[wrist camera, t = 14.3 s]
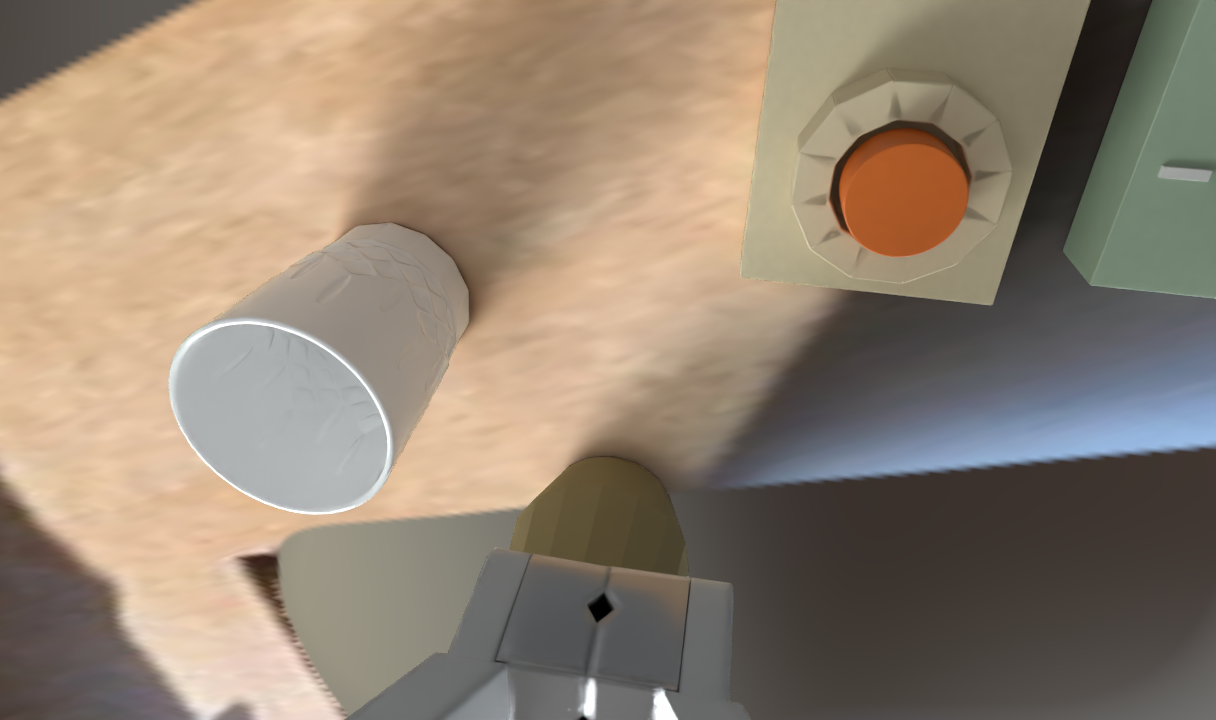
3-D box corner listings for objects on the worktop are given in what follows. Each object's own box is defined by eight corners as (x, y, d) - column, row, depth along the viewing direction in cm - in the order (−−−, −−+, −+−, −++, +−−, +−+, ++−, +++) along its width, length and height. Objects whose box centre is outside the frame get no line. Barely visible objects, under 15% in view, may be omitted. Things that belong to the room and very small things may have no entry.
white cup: (513, 347, 36) (434, 492, 27) (367, 388, 38) (252, 532, 30) (432, 182, 32) (313, 289, 24) (278, 238, 35) (120, 352, 26)
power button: (850, 122, 25) (856, 137, 24) (971, 133, 25) (984, 148, 23) (829, 231, 27) (833, 251, 25) (940, 242, 26) (951, 264, 25)
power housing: (784, -60, 26) (786, -51, 23) (1078, -42, 25) (1128, -31, 22) (740, 255, 32) (737, 299, 28) (979, 280, 31) (1005, 330, 27)
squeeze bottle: (715, 551, 40) (684, 971, 24) (566, 573, 42) (452, 966, 27) (665, 419, 36) (592, 810, 21) (505, 451, 39) (335, 821, 23)
